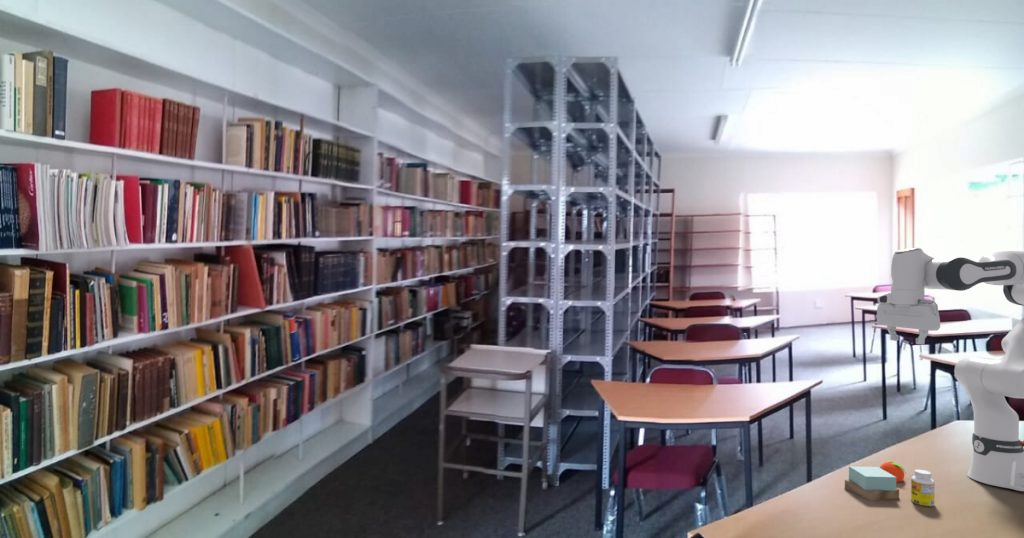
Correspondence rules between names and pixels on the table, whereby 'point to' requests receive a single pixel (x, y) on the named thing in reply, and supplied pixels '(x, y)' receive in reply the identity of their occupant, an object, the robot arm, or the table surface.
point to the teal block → (872, 478)
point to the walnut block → (871, 492)
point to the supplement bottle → (922, 489)
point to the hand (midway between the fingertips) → (906, 342)
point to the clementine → (894, 470)
